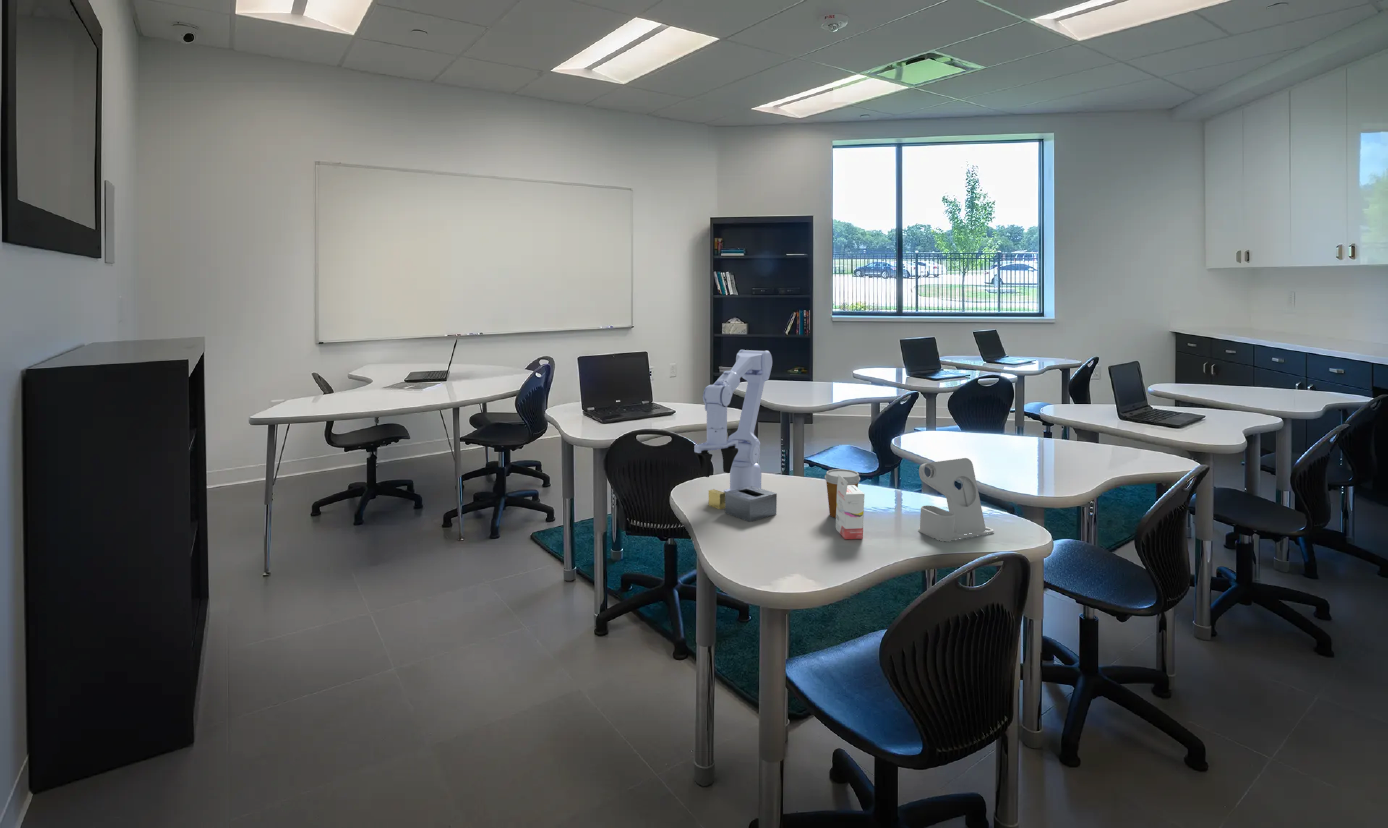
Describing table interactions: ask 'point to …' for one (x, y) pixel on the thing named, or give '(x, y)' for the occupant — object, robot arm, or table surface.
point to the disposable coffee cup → (832, 482)
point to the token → (717, 499)
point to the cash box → (750, 503)
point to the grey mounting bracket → (952, 502)
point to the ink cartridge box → (849, 510)
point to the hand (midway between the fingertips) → (716, 474)
